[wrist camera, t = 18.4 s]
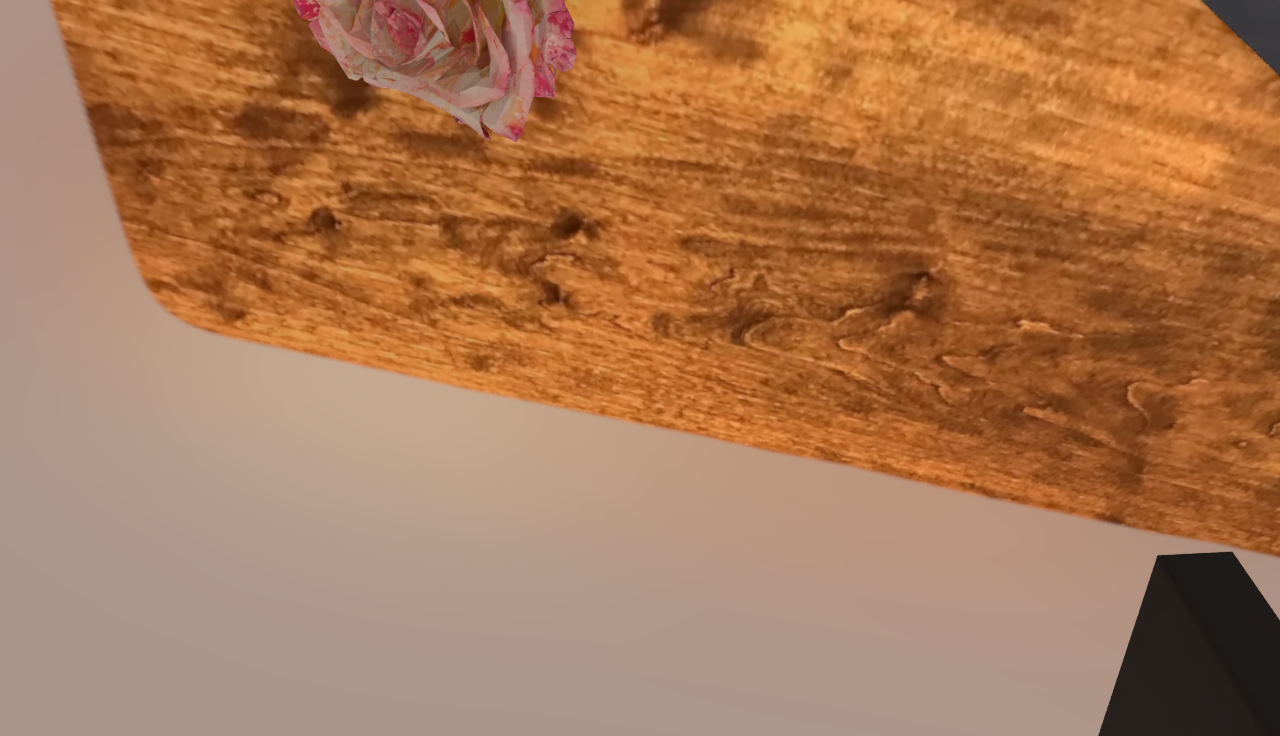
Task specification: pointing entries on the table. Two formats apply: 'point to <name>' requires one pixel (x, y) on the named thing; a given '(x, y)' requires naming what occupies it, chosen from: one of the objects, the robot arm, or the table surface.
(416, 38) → the flower
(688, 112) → the table surface
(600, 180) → the table surface
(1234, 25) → the dark printed mat
